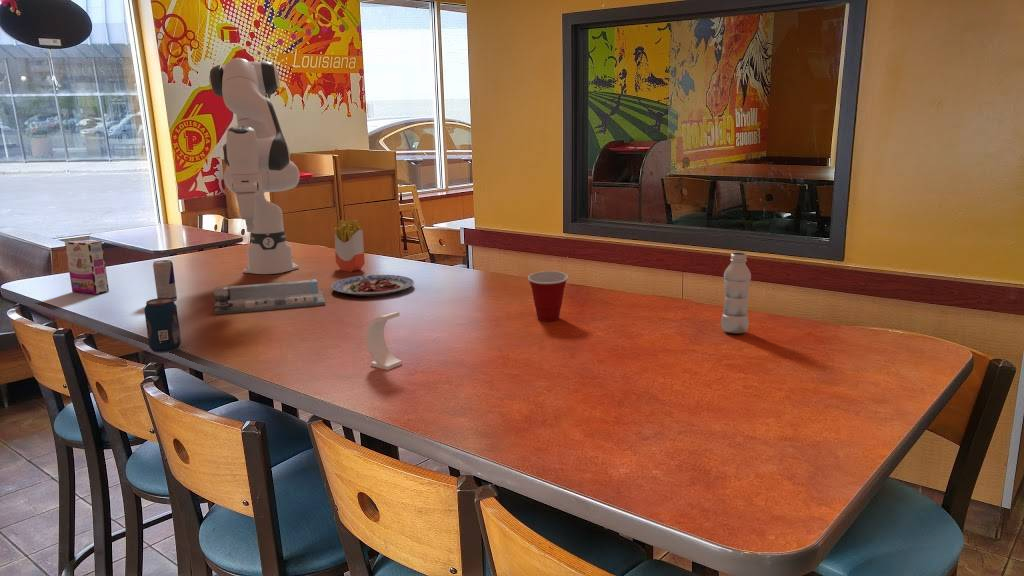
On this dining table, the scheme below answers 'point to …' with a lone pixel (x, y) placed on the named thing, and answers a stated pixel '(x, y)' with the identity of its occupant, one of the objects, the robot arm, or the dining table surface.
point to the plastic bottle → (736, 295)
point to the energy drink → (164, 279)
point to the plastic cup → (548, 293)
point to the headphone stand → (380, 343)
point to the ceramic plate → (372, 285)
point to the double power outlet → (269, 303)
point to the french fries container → (349, 246)
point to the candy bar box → (87, 266)
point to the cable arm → (265, 290)
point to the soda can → (162, 325)
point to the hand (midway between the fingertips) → (250, 230)
